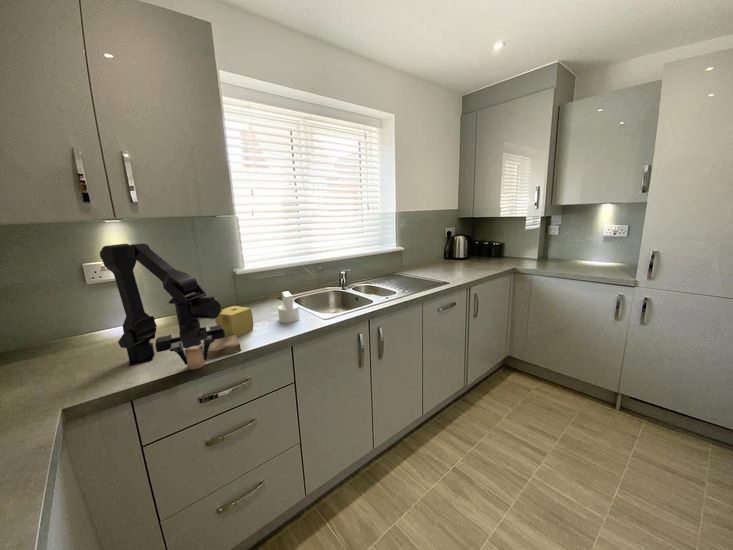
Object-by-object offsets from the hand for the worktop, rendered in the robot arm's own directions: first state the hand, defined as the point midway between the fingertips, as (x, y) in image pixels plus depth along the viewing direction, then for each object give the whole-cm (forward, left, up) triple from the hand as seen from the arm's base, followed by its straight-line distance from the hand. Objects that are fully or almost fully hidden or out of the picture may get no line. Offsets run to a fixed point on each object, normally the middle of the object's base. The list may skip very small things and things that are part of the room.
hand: (196, 361), depth 96 cm
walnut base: (+9, +8, -1) cm, 12 cm away
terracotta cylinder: (0, 0, -1) cm, 1 cm away
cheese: (+15, +22, -2) cm, 27 cm away
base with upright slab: (+38, +24, -2) cm, 45 cm away
